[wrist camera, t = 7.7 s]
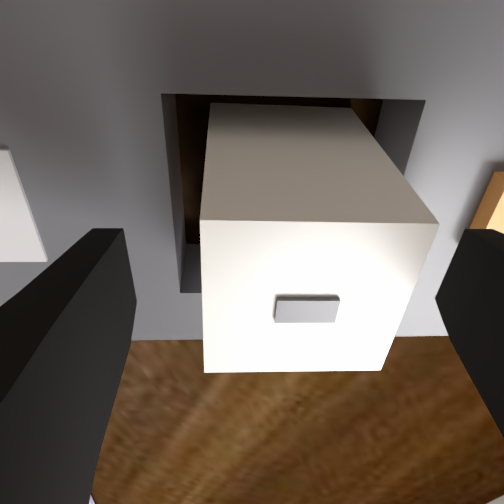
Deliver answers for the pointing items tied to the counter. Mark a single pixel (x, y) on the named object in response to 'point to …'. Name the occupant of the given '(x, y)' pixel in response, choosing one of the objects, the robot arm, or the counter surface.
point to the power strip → (232, 83)
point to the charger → (304, 241)
